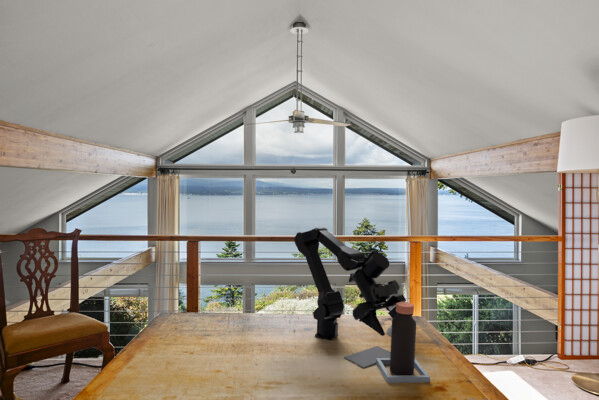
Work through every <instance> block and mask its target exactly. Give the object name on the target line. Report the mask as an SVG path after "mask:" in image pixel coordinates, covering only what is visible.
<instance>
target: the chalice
mask: <svg viewBox="0 0 599 400" xmlns="http://www.w3.org/2000/svg"><path fill="white" fill-rule="evenodd" d="M388 282H389V281H386V282H385V283H384V285H387V284H388ZM396 282H397V283H398V285H399V286H400V287H399V288H400V289H399V290H398V294H401V295H403V296H404V287H405V283H402V282H401V281H400V282H399V281H396ZM398 294H392V295H389V296H390V297H389V298H388V299H386V301H387V300H389V299H390V298H391V297H392V296H393V295H398ZM392 320H393V318H392V317H391V319H390V321H391V322H392ZM391 332H392V324H391V325H389V326H388V327H387V329H386V331H385V334H386V335H388V336H389V337H391Z"/></svg>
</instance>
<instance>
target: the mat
mask: <svg viewBox="0 0 599 400" xmlns="http://www.w3.org/2000/svg"><path fill="white" fill-rule="evenodd" d="M390 353H391V351H389V350H387V349H385V348H383V347H381V346H379V345H375V346H373V347H370V348H367V349H364V350H361V351H358V352H357V351H356V352H355V353H351V354H349V355H345V356H343V358H344V359H345V358H346V359H345V360H347V361H349V362H351V363H353V364H354V363H355V365H356V364H357V366H358V367H360V368H362V369H366V368H369V367H372V366H375V365H377V364H376V358H390Z"/></svg>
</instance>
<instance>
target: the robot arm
mask: <svg viewBox="0 0 599 400" xmlns="http://www.w3.org/2000/svg"><path fill="white" fill-rule="evenodd" d="M293 242H294V244H295V246H296V248H297V251H298V252H299V253H301V254H302V255H303V256H304V258H305V260H306V263H307V265H308V268H309V271H310V273H311V277H312V278H313V282H314V284H315V287H316V288H315V289H316V290H317V292H318V296H317V301H316V302H317V308H315V310H313V312H312V315H313V319H315V320H316V333H315V334H314V337H317V338H321V339H326V340H332V341H333V339H334V338H336V337H337V336H338V335H339V323H338V319H340V318H341V317H342V313H343V312H344V308H345V304H344V302H345V301H344V300H343V298H342V295H341V292H340V291H339V290H336V291H335V290H334V289H333V288H332V286H331V283H330V280H329V277H328V275H327V271H326V270H325V267H324V264H323V262H322V258H321V256H320V254H319V249H320V248H319V247H320V244H321V245H322V246H323V247H325V248H326V249H327V250H328V251H330V252H331V254H333V255H334V256H335V257H336V258H337V262H338V264H339V265H340V266H341V268H342V269H343V270H344V271H346V272H350V271H355V272H353V273H350V274H349V277H348V282H349V283H355V284H356V287H357V289H358V290H359V292H360V294H358V295H359V297H360V299H362V298H363V299H364V302H360V303H359V304H358V305H356V307H355V308H353V309H352V315H351V316H352V317H353V319H354V320H355V321H359V323H361V322H362V323H363V324H364V325H365V326H368V327H369V328H371V329H372V330H374V331H375V332H376V333H378V334H379V335H380V336H382V337H383V336H385V334H386V332H385V331H384V328H383V325H382V324H381V322H380V321H379V318H378V316H377V311H379V310H383V309H385V310H386V311H387V313H388V315H389V317H391V319H392V318H394V317H396V316H397V313H396V303H398V302H407V299H406V298H405V296H404V294H403V295H401V294H398V290H399V289H400V288H399V287H400V286H399V285H398V283H397V282H398V281H396V280H391V281H387V282H388V284H387V285H386V284H384V285H382V283H378V282H376V280H375V279H378V278H379V277H380V276H381V275H382V274H383V273H384V272H385V271H386V270H387V269H388V268H389V267H390V261H389V259H388V257H387V256H385V255H384V254H382V253H379V251H378V250H376V249H375V250H372V251H371V252H370V253H369V254H368V256H365V254H364V253H363V252H361V250H358V249H356V248H353V247H350V246H347V245H345V243H344V242H342V241H341V240H340V239H338V238H337V237H336V236H335V235H333V234H332V233H331V232H330V231H328V228H326V227H325V226H324V227H315V228H313V229H311V230H310V229H309V230H306V231H301V232H300V231H299V232H297V233H296V234H295V236H294V241H293ZM392 294H398V295H393V296H392V297H391V298H390V299H389V300H387V299H388V298H389V297H390V296H389V295H392Z"/></svg>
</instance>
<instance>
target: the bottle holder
mask: <svg viewBox="0 0 599 400" xmlns="http://www.w3.org/2000/svg"><path fill="white" fill-rule="evenodd" d="M375 365H376V366H377V367H378V369H379V372H381V374H382V376H383V378H384V379H385V381H386V383H388V384H390V383H391V384H394V383H400V384H401V383H431V376H430V375H429V374H428V373H427V371H426V370H425V369H424V367H423V366H422V365H421V363H420V362H419V361H418V360H417V358H415V361H414V369H415V370H416V371H417V372H418V375H417V374H416V375H414V374H413V375H399V376H396V375H390V374H389V371H388V370H387V368H386V367H385V365H390V358H376V364H375Z"/></svg>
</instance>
